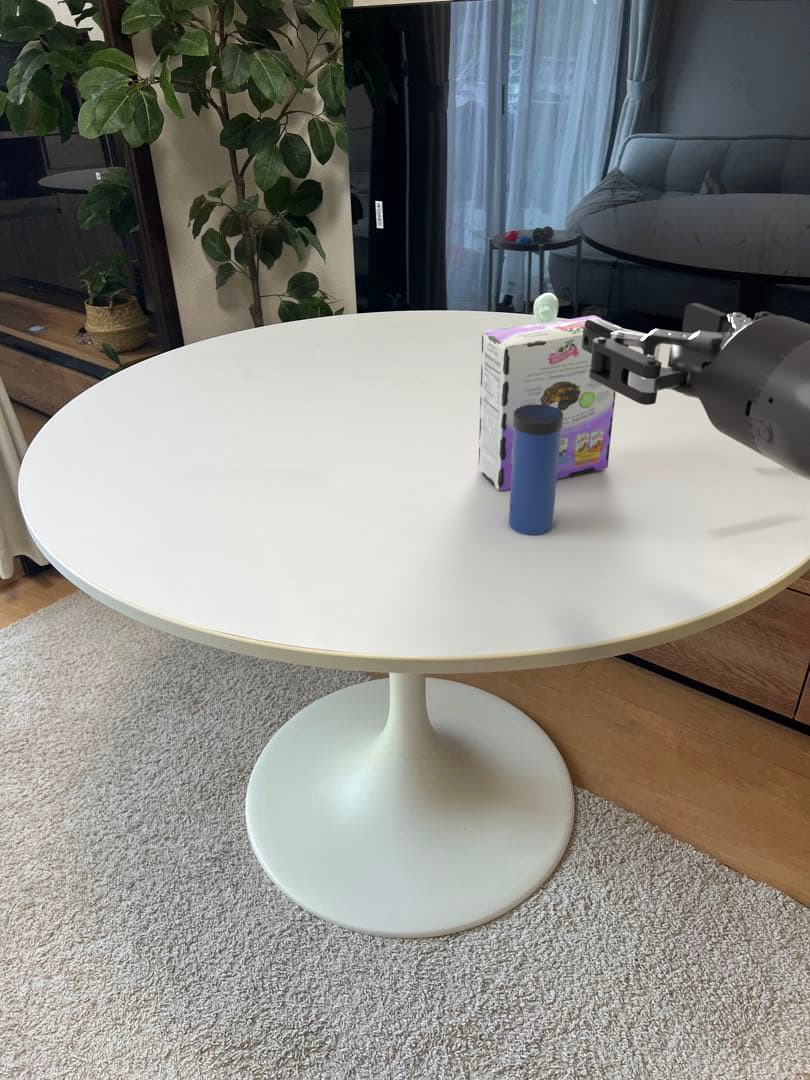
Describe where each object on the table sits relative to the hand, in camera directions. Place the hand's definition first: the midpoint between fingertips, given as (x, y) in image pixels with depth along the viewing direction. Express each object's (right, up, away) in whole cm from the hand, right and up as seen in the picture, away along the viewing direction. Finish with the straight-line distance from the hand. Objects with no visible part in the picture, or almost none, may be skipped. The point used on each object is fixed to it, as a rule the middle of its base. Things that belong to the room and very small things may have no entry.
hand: (638, 325), depth 57 cm
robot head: (+7, +19, +77) cm, 79 cm away
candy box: (-1, -8, +33) cm, 34 cm away
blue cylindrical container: (-4, -14, +23) cm, 27 cm away
